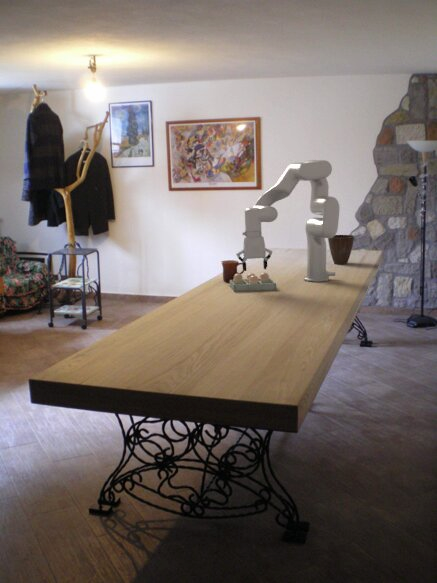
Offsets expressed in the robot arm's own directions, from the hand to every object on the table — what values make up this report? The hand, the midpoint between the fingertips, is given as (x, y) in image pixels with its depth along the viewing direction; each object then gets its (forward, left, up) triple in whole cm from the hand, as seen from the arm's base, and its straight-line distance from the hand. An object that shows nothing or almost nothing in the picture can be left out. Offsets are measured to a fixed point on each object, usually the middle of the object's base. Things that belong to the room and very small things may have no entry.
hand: (255, 269), depth 314 cm
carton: (+1, -3, -10) cm, 10 cm away
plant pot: (-62, -61, -10) cm, 87 cm away
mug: (+7, -22, -10) cm, 25 cm away
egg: (+1, 0, -9) cm, 9 cm away
